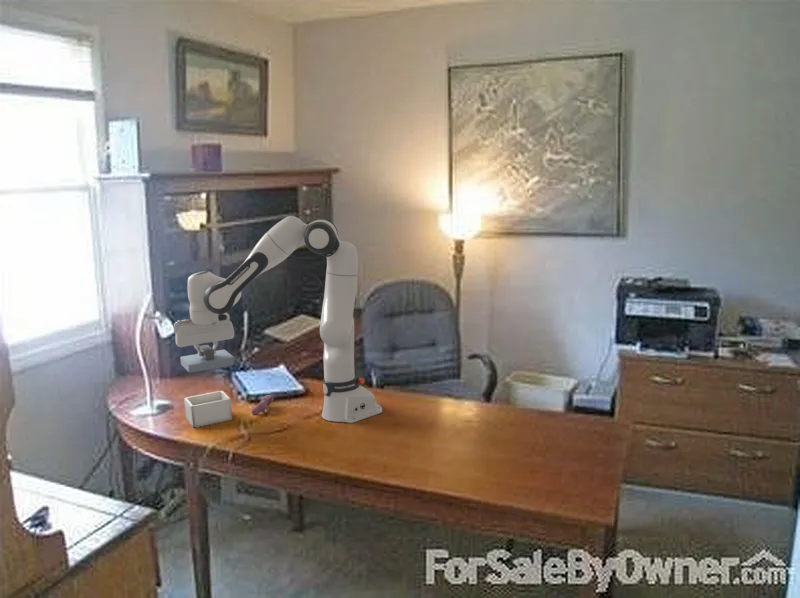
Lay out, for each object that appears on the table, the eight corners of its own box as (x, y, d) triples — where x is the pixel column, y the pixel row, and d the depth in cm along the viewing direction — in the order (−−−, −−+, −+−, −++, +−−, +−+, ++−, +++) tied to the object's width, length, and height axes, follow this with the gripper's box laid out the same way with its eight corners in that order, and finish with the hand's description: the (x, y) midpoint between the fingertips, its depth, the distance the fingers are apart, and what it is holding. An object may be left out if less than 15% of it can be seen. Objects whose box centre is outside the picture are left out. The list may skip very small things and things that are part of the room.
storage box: (223, 410, 242) (222, 390, 241) (232, 419, 233) (230, 398, 231) (185, 418, 235) (184, 397, 234) (193, 428, 226) (191, 406, 224)
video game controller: (260, 419, 237) (267, 403, 235) (250, 413, 237) (257, 398, 235) (270, 409, 246) (277, 394, 244) (260, 404, 247) (267, 389, 245)
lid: (224, 356, 239) (223, 340, 238) (235, 364, 228) (233, 347, 227) (180, 364, 231) (179, 347, 230) (189, 372, 220) (187, 355, 219)
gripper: (174, 322, 218) (179, 361, 221) (234, 314, 228) (237, 351, 231) (171, 319, 223) (175, 357, 226) (228, 311, 234) (232, 348, 236)
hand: (207, 354), depth 229 cm, fingers closed on lid, 3 cm apart
